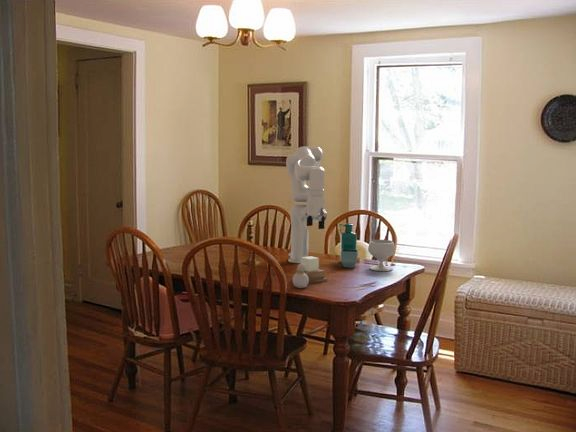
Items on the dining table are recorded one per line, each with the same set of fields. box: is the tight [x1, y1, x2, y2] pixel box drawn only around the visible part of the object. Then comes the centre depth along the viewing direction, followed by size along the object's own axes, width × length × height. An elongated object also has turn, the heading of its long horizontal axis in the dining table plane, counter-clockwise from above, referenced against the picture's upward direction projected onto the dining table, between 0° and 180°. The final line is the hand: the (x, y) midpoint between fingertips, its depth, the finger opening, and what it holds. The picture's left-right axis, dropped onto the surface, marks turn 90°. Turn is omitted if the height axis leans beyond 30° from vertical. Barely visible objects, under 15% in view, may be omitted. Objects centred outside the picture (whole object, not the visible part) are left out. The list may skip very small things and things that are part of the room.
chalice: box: [367, 239, 396, 272], centre depth 324 cm, size 14×14×15 cm
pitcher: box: [338, 222, 358, 264], centre depth 342 cm, size 10×8×22 cm
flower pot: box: [340, 249, 359, 269], centre depth 330 cm, size 9×9×9 cm
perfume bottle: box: [291, 262, 309, 289], centre depth 280 cm, size 8×10×12 cm
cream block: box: [301, 255, 320, 272], centre depth 296 cm, size 6×6×6 cm
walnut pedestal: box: [291, 268, 328, 285], centre depth 297 cm, size 12×12×5 cm
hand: (315, 227), depth 306 cm, fingers open, 9 cm apart
